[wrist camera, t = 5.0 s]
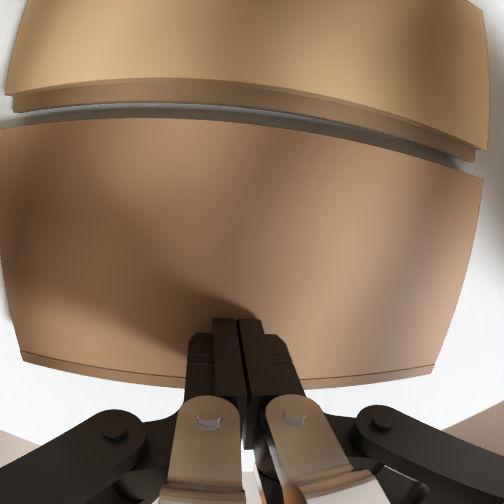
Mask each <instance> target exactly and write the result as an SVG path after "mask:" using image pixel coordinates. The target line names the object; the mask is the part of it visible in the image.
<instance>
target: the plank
mask: <svg viewBox="0 0 504 504" xmlns="http://www.w3.org/2000/svg"><path fill="white" fill-rule="evenodd" d="M482 186H483V179H480V178H478V177H475V176H472V175H470V174H467V173H464V172H461V171H458V170H455V169H452V168H449V167H446V166H443V165H440V164H437V163H434V162H431V161H428V160H424V159H421V158H418V157H414V156H411V155H407V154H404V153H400V152H396V151H392V150H389V149H385V148H381V147H377V146H372V145H368V144H364V143H360V142H355V141H350V140H346V139H341V138H336V137H331V136H326V135H320V134H315V133H309V132H303V131H297V130H290V129H284V128H277V127H269V126H261V125H253V124H244V123H234V122H223V121H210V120H194V119H172V118H110V119H88V120H73V121H61V122H51V123H42V124H34V125H26V126H19V127H13V128H6V129H1V130H0V252H1V260H2V268H3V274H4V281H5V287H6V292H7V298H8V303H9V307H10V312H11V316H12V321H13V325H14V329H15V333H16V337H17V340H18V344H19V347H20V353H21V356H22V359H23V361H25V362H29V363H32V364H36V365H40V366H44V367H48V368H52V369H56V370H61V371H65V372H70V373H75V374H80V375H85V376H90V377H96V378H101V379H107V380H114V381H120V382H127V383H135V384H143V385H151V386H161V387H171V388H183V389H185V379H186V366H187V355H188V343H189V340H190V339H191V338H192V337H193V336H194V334H195V333H196V332H199V333H212V321H213V318H229V319H235V320H236V327H237V320H238V319H260V320H261V322H262V326H263V329H264V333H265V334H277V335H278V336H279V337H280V338H281V339H282V340H283V341H284V342H285V343H286V345H287V348H288V350H289V353H290V356H291V358H292V361H293V364H294V366H295V369H296V372H297V374H298V377H299V380H300V382H301V385H302V387H303V390H308V389H323V388H335V387H346V386H355V385H364V384H372V383H379V382H386V381H392V380H399V379H405V378H410V377H416V376H421V375H426V374H430V373H431V372H432V370H433V368H434V365H435V362H436V359H437V357H438V354H439V352H440V350H441V347H442V345H443V342H444V339H445V337H446V334H447V331H448V329H449V326H450V323H451V320H452V317H453V314H454V311H455V308H456V305H457V302H458V299H459V296H460V292H461V289H462V285H463V282H464V278H465V275H466V271H467V267H468V263H469V259H470V255H471V250H472V246H473V241H474V236H475V231H476V226H477V220H478V214H479V208H480V201H481V194H482Z"/></svg>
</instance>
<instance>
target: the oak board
mask: <svg viewBox="0 0 504 504" xmlns="http://www.w3.org/2000/svg"><path fill="white" fill-rule="evenodd" d="M5 95H7V96H13V97H15V102H14V110H13V113H24V112H31V111H37V110H45V109H52V108H61V107H70V106H81V105H95V104H113V103H185V104H204V105H218V106H230V107H240V108H249V109H257V110H265V111H273V112H280V113H286V114H293V115H299V116H304V117H310V118H315V119H321V120H326V121H331V122H335V123H340V124H345V125H349V126H353V127H358V128H362V129H366V130H370V131H374V132H377V133H381V134H385V135H388V136H392V137H396V138H399V139H402V140H406V141H409V142H412V143H416V144H419V145H422V146H425V147H428V148H431V149H434V150H437V151H440V152H442V153H445V154H448V155H451V156H453V157H456V158H459V159H461V160H464V161H467V162H473V163H474V159H475V150H476V149H477V150H485V151H487V142H488V128H489V65H488V51H487V41H486V33H485V25H484V18H483V12H482V10H480V9H479V8H477V7H476V6H475V5H473V4H472V3H470V2H469V1H467V0H28V3H27V6H26V8H25V11H24V14H23V17H22V21H21V24H20V27H19V30H18V34H17V38H16V41H15V45H14V49H13V53H12V58H11V62H10V67H9V72H8V77H7V82H6V88H5Z"/></svg>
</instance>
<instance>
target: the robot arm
mask: <svg viewBox="0 0 504 504" xmlns="http://www.w3.org/2000/svg"><path fill="white" fill-rule="evenodd" d="M241 439H242V440H243V447H244V450H251V449H254V455H255V463H254V475H255V479H256V483H257V486H258V490H259V494H260V497H261V501H262V504H504V456H501V455H499V454H496V453H493V452H491V451H488V450H486V449H483V448H481V447H478V446H475V445H473V444H471V443H468V442H466V441H463V440H461V439H459V438H456V437H454V436H452V435H449V434H447V433H445V432H442V431H440V430H438V429H436V428H433V427H431V426H429V425H427V424H425V423H423V422H420V421H418V420H416V419H414V418H412V417H410V416H408V415H406V414H403V413H401V412H399V411H397V410H395V409H393V408H391V407H388V406H384V405H372V406H368V407H365V408H364V409H362V410H361V411H360V412H359V414H358V415H357V417H356V418H352V417H343V416H335V415H330V414H326V413H324V412H323V411H322V409H321V408H320V406H319V405H318V404H317V403H316V402H314V401H313V400H311V399H309V398H307V397H306V395H305V393H304V390H303V387H302V385H301V382H300V380H299V377H298V374H297V372H296V369H295V366H294V364H293V361H292V358H291V356H290V353H289V350H288V348H287V345H286V343H285V342H284V341H283V340H282V339H281V338H280V337H279V336H278V335H277V334H265V333H264V329H263V326H262V322H261V320H260V319H238V320H237V327H236V320H235V319H229V318H213V321H212V333H199V332H196V333H195V334H194V336H193V337H192V338H191V339H190V340H189V343H188V355H187V366H186V379H185V393H184V402H183V404H182V406H181V408H180V409H179V410H178V411H177V412H176V413H174V414H173V415H171V416H169V417H167V418H165V419H161V420H156V421H150V422H143V423H142V422H141V420H140V419H139V418H138V417H137V416H135V415H134V414H132V413H130V412H127V411H124V410H116V409H113V410H105V411H102V412H99V413H97V414H95V415H94V416H92V417H90V418H89V419H87V420H85V421H84V422H82V423H80V424H79V425H77V426H75V427H74V428H72V429H70V430H68V431H67V432H65V433H63V434H62V435H60V436H58V437H56V438H55V439H53V440H51V441H49V442H48V443H46V444H44V445H42V446H40V447H39V448H37V449H35V450H33V451H31V452H29V453H28V454H26V455H24V456H22V457H20V458H18V459H16V460H15V461H13V462H11V463H9V464H7V465H5V466H3V467H1V468H0V504H152V503H153V502H154V501H155V500H156V499H157V498H158V497H159V500H158V504H246V497H245V491H244V489H243V487H242V470H241ZM384 465H386V466H388V467H390V468H392V469H394V470H396V471H398V472H400V473H402V474H404V475H407V476H409V477H411V478H413V479H415V480H417V481H419V482H417V481H413V480H411V479H409V478H407V477H405V476H402V475H400V474H398V473H396V472H394V471H392V470H390V469H388V468H386V467H384Z"/></svg>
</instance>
